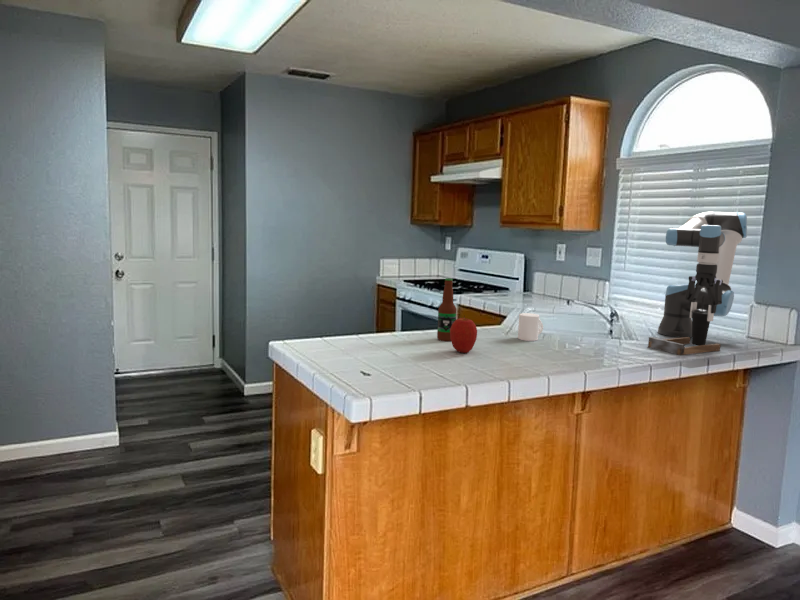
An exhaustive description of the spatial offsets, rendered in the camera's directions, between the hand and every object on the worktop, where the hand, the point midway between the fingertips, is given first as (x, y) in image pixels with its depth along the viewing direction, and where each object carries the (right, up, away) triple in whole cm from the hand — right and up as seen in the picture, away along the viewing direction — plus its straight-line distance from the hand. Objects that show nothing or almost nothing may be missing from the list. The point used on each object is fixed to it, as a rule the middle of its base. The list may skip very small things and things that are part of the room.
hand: (701, 319), depth 244 cm
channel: (-8, -12, -3) cm, 15 cm away
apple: (-100, -12, -22) cm, 103 cm away
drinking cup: (0, -11, +2) cm, 11 cm away
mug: (-68, -9, +7) cm, 69 cm away
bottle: (-105, -9, -1) cm, 105 cm away
